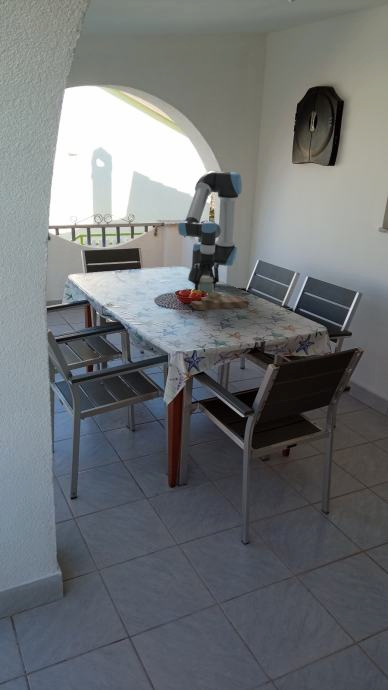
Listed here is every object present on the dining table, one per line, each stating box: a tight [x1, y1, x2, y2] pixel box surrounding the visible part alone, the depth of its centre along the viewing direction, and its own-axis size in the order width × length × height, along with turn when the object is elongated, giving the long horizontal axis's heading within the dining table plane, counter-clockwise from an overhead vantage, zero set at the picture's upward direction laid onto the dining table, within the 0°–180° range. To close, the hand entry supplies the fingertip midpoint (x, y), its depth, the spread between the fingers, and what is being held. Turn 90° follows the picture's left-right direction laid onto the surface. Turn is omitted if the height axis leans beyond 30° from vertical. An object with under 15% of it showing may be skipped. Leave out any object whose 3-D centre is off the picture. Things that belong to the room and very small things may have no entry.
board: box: [188, 295, 249, 311], centre depth 263 cm, size 30×10×3 cm, turn 116°
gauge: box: [201, 291, 223, 303], centre depth 258 cm, size 12×6×4 cm, turn 126°
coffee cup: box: [199, 275, 214, 297], centre depth 270 cm, size 8×8×12 cm
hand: (204, 295), depth 271 cm, fingers closed on coffee cup, 8 cm apart
